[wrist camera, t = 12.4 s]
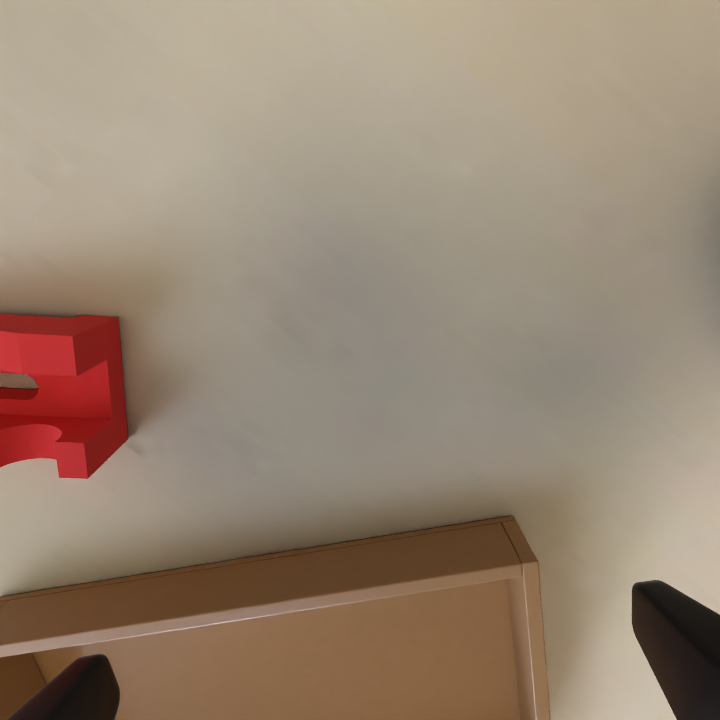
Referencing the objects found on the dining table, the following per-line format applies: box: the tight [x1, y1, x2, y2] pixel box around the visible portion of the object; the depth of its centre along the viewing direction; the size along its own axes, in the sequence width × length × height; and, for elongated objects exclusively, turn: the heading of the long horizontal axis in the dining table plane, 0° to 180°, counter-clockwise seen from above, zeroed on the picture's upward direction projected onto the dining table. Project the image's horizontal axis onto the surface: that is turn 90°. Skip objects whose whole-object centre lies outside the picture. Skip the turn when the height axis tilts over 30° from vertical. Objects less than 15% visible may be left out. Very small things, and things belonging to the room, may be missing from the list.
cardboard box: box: [0, 516, 550, 720], centre depth 21 cm, size 22×13×3 cm, turn 100°
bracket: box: [0, 314, 128, 479], centre depth 16 cm, size 6×5×3 cm
